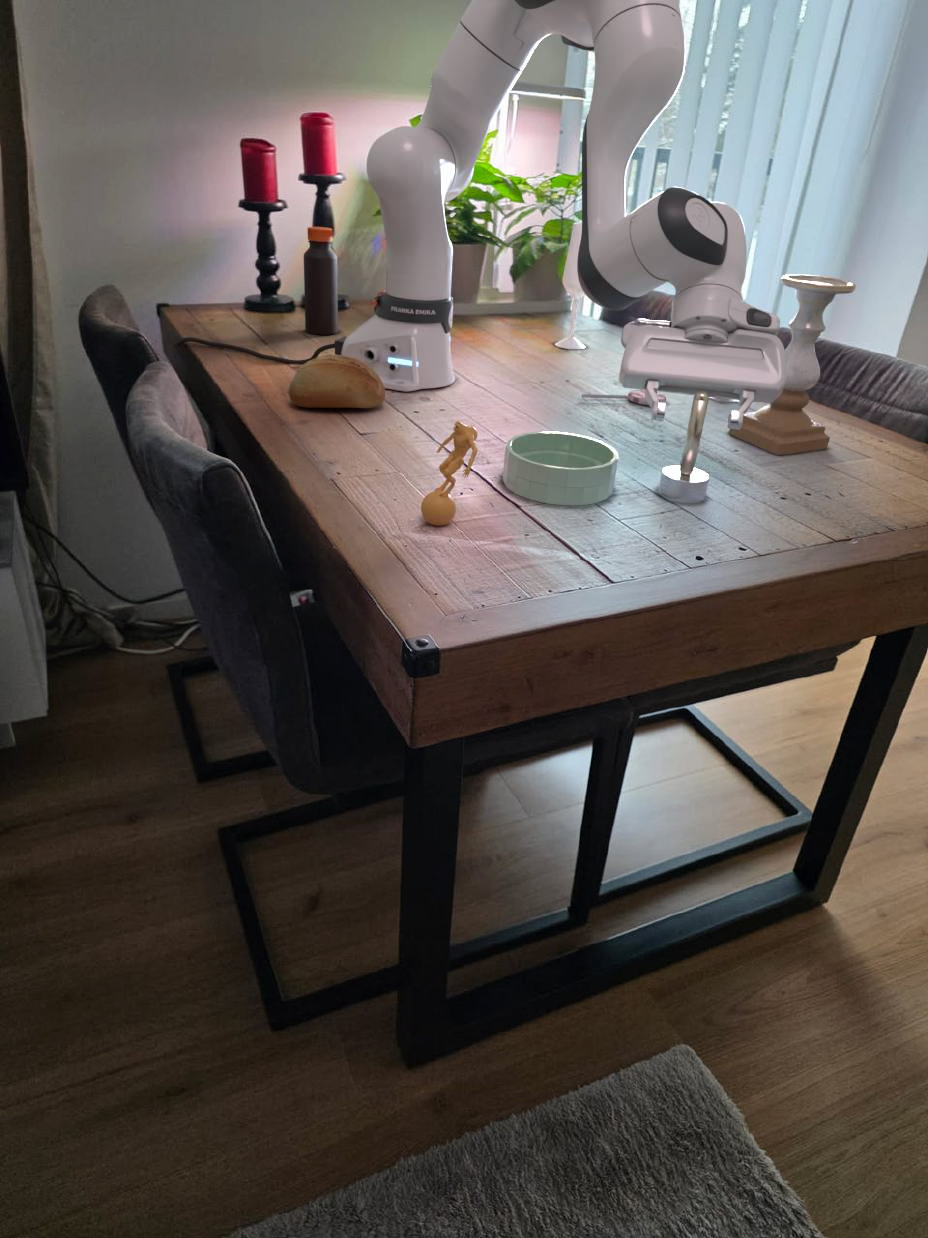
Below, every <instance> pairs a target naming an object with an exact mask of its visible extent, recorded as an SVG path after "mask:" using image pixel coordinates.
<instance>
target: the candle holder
mask: <svg viewBox="0 0 928 1238" xmlns="http://www.w3.org/2000/svg"><path fill="white" fill-rule="evenodd" d="M780 282H781V284H782V285H783V286H785V287H788V288H791V289H795V298H796V300H797V303H798V310H797V313H796V315H795V316H794V317H793V319H791V320H790V321H789V322H788V328H790V330H789V332H790V334H791V340H790V342H789V344H788V346H787V347H786V348H784V351H785V361H786V381H785V386H784V389H783V391H782V393H781V394H780V396H779V397H778V398H777V399H776V400H775V401H774V402H772V403H769V404H767V405H765V406H763V407H761V408H760V409H758V410H756V411H750V412H746V413H745V414H744V415H743V423H742V426H741V428H740V430H737V429H729V431H728V434H729V435H730V436H733V437H735V438H737V439H739V440H741V441H744V442H746V443H749V444H750V445H753V446H754V447H757V448H759V449H762V450H764V451H766V452H768V453H771V454H774V455H777V456H782V455H783V456H784V455H793V454H801V453H807V452H814V451H821V450H826V449H828V447H829V446H828V445H829V442H830V439H831V437H830V436H829V435H828V434H826V433H825V432H826V427H825V426H824V425H823V424H821V423H819V422H817V421H814V420H812V419H811V418H810V416H809V415H808V414H807V413H806V412H805V410H803V409H804V408H806V407H807V406H808V404H809V403H810V396H809V393H808V392H807V390H810V389H811V388H813V387H815V386H816V385H817V384H818V383H819V381H820V378H821V367H820V364H819V362H818V361H819V360H818V357H817V355H816V351H815V343H816V341H817V339H819V337H820V336H821V333H823V332H825V331H826V326H825V322H824V313H825V310H826V308H827V307H828V306H829V305H830V304H831V303H832V302H833V301H834V300H835V297H836V295H845V294H851V293H853V292H854V291H855V290H856V288H857V286H856V284H855V283H854V282H851V281H849V280H844V279H840V278H835V277H829V276H822V275H821V276H820V275H811V274H785V275H782V277H781V280H780Z"/></svg>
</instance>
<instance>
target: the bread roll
mask: <svg viewBox="0 0 928 1238" xmlns="http://www.w3.org/2000/svg"><path fill="white" fill-rule="evenodd" d="M288 396H289V399H290V401H291V403H293V404H294V405H295V406H297V407H301V408H309V409H310V408H311V409H312V408H328V409H329V408H330V409H331V408H332V409H335V408H354V409H355V408H356V409H357V408H358V409H372V408H376V407H378V406H380V405H382V404H383V402H384V401H385V400H386V399H385V398H386V388H384V386H383V383H382V381H381V379H380V378H379V376H378V375H377V374H376V373H375V372H374V371H373V370H372V369H371V368H370V367H369V366H368V365H366V364H365V363H364V362H362V361H360V360H358V359H356V358H351V357H347V356H341V355H335V354H334V355H333V354H327V355H321V356H317V358H314V359H312V360H310V361H308V362H307V363H305V364H301V365H300V366H299V367H298V369H297V371H296V372H295V373H294V376H293V377H292V379H291V381H290V384H289V386H288Z"/></svg>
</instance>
